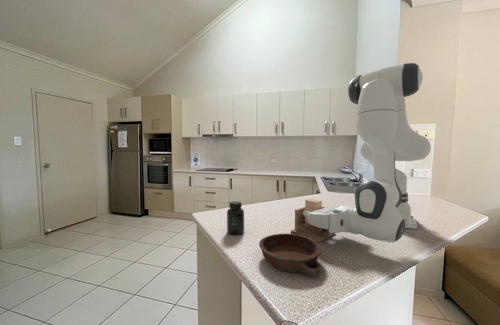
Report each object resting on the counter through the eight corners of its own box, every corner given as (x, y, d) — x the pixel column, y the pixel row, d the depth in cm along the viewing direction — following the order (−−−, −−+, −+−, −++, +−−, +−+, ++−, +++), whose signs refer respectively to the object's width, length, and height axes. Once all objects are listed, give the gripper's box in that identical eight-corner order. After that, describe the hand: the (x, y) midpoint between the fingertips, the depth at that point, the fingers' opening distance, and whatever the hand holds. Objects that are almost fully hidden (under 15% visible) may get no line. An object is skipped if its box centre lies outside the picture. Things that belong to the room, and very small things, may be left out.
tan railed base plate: (308, 226, 90) (308, 205, 90) (335, 234, 81) (335, 211, 81) (291, 232, 83) (291, 210, 82) (318, 242, 74) (318, 217, 73)
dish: (285, 241, 75) (285, 227, 75) (341, 269, 57) (341, 250, 57) (244, 253, 66) (244, 237, 66) (295, 291, 48) (295, 270, 47)
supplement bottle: (247, 230, 85) (247, 201, 85) (239, 236, 79) (239, 205, 79) (232, 228, 88) (232, 199, 88) (223, 233, 82) (223, 203, 81)
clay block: (310, 228, 85) (310, 198, 85) (321, 231, 81) (321, 200, 81) (305, 230, 83) (305, 200, 82) (316, 233, 79) (316, 202, 79)
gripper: (359, 204, 79) (325, 198, 89) (331, 214, 65) (295, 206, 76) (359, 221, 79) (325, 213, 89) (331, 234, 65) (295, 223, 76)
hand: (311, 210), depth 82 cm, fingers open, 8 cm apart
